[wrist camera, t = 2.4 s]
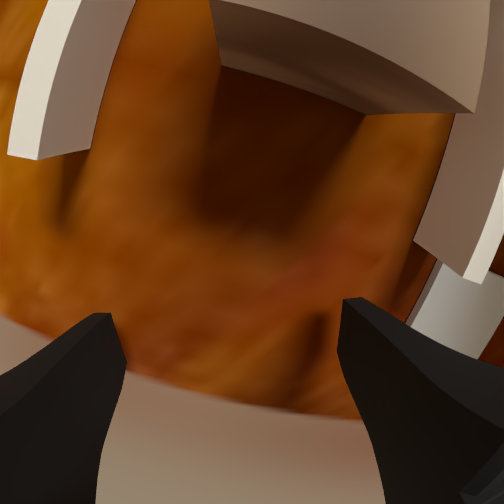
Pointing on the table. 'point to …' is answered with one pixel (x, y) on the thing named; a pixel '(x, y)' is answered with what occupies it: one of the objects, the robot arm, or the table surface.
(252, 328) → the table surface
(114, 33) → the cream u-shaped arch
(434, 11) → the block
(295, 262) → the table surface
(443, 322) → the mat
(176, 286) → the table surface
